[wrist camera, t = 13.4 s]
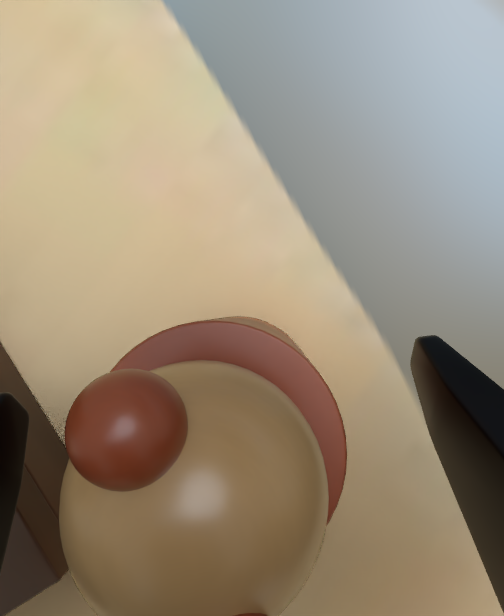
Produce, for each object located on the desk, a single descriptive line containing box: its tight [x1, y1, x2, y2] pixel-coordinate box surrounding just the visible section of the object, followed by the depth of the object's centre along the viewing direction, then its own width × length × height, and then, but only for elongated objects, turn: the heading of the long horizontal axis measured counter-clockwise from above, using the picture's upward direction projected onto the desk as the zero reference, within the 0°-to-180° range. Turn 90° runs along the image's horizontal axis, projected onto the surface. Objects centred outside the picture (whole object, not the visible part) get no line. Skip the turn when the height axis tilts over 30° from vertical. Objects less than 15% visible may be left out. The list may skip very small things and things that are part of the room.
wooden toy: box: [59, 317, 347, 616], centre depth 10 cm, size 5×5×10 cm
